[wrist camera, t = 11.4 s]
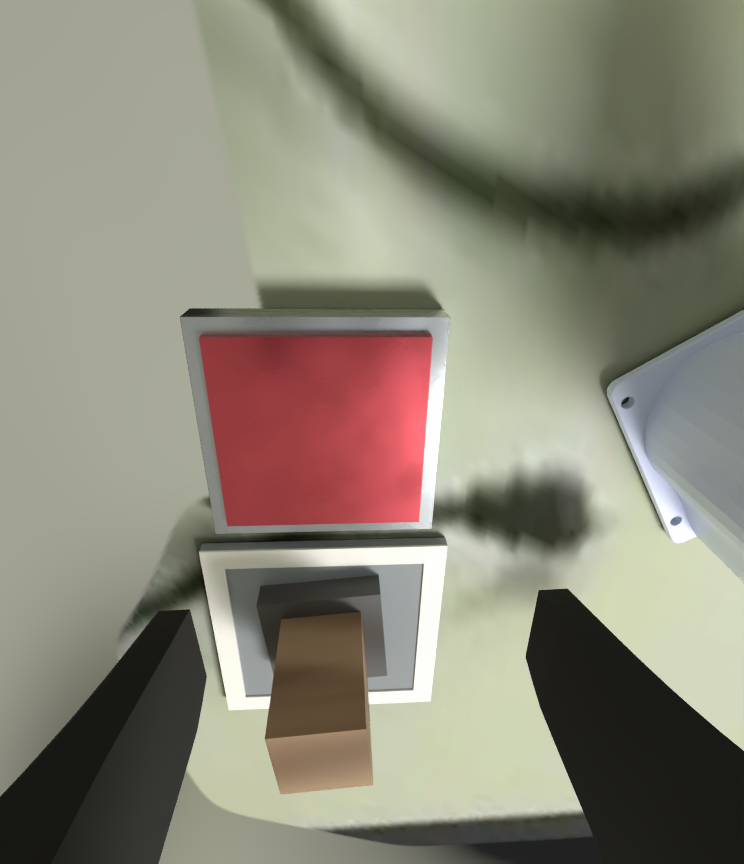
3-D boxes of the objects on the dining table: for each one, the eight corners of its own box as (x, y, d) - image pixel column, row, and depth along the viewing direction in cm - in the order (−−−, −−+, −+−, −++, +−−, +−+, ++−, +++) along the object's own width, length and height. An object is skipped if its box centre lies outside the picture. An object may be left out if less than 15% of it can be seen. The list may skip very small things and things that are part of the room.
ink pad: (426, 511, 22) (432, 533, 20) (222, 516, 21) (214, 538, 20) (443, 309, 18) (452, 319, 16) (189, 308, 17) (176, 319, 16)
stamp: (385, 654, 25) (398, 795, 19) (278, 665, 25) (260, 809, 19) (378, 575, 23) (391, 709, 17) (260, 585, 22) (232, 725, 17)
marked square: (428, 691, 27) (430, 701, 27) (231, 699, 27) (228, 710, 26) (445, 537, 22) (447, 546, 22) (202, 543, 22) (198, 552, 21)
